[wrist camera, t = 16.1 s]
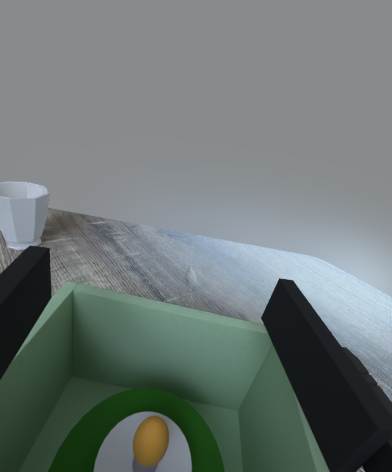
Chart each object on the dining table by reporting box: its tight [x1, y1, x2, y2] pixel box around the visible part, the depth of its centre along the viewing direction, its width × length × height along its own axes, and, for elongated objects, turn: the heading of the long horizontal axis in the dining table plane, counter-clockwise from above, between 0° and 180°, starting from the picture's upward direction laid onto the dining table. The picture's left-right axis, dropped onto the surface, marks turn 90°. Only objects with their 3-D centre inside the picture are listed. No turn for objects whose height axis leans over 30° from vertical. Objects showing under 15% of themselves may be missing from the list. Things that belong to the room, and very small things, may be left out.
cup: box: [0, 182, 49, 250], centre depth 35 cm, size 7×10×8 cm
